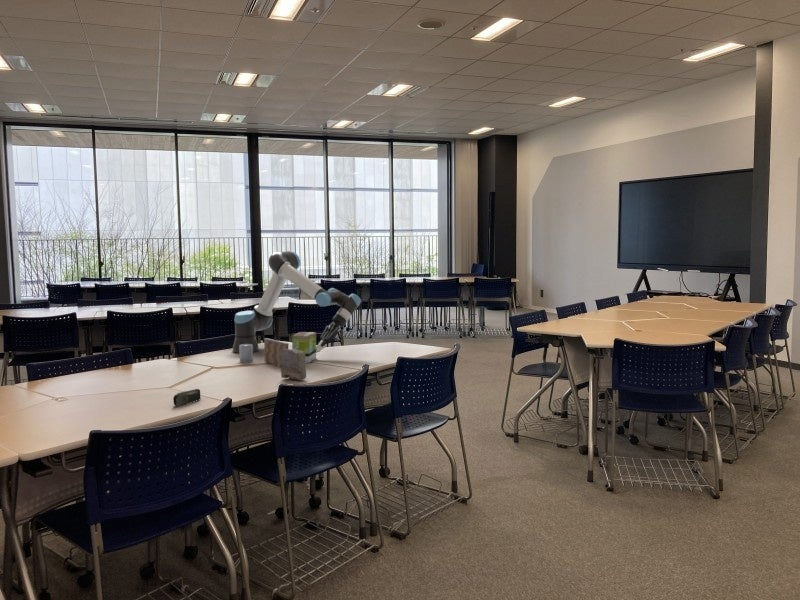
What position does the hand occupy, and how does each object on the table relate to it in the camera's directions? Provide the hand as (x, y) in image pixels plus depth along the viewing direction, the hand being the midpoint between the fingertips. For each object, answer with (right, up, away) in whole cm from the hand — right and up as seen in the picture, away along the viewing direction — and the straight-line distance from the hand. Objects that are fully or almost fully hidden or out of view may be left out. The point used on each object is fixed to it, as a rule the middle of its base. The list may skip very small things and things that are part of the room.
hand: (317, 350), depth 344 cm
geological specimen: (-4, -10, -51) cm, 52 cm away
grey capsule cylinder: (-38, -6, -4) cm, 39 cm away
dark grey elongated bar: (-40, -14, -92) cm, 101 cm away
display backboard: (-19, -6, -14) cm, 25 cm away
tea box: (-6, -5, -2) cm, 9 cm away
